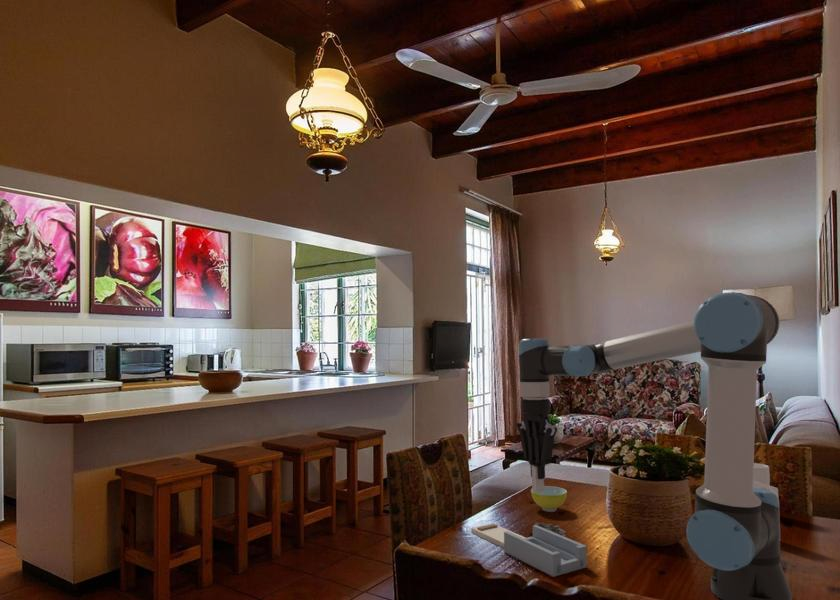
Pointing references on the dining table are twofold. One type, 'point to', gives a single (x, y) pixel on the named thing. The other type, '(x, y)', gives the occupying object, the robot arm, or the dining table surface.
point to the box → (547, 551)
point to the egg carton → (552, 528)
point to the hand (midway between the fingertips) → (538, 491)
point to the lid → (492, 533)
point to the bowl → (550, 498)
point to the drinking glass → (761, 474)
